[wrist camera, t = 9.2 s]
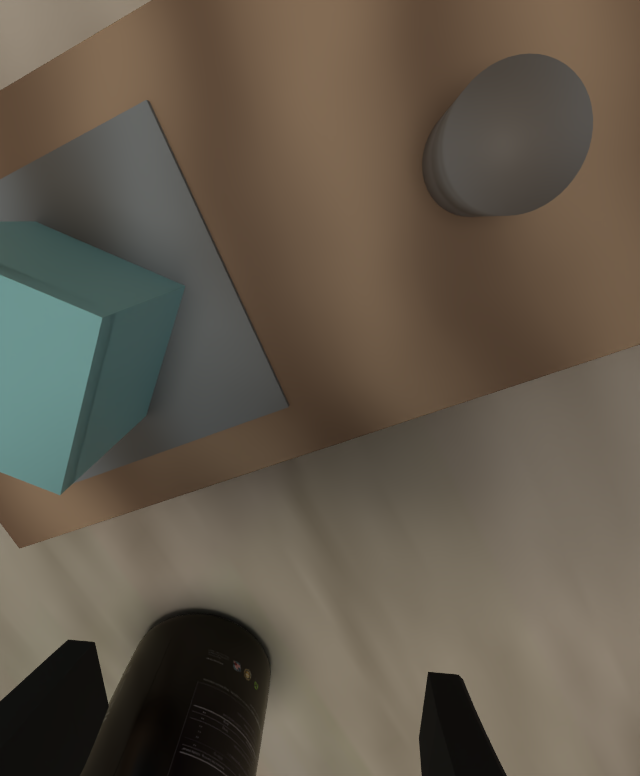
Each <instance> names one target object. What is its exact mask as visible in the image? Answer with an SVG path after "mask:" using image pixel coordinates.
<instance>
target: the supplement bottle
mask: <svg viewBox="0 0 640 776" xmlns="http://www.w3.org/2000/svg"><path fill="white" fill-rule="evenodd" d="M269 686H270V666H269V661H268V658H267V656H266V653H265V651H264V650H263V648H262V646H261V645H260V643H259V642H258V641H257V640H256V638H255V637H254V636H253V635H252V634H251V633H249V632H248V631H247V630H246V629H244V628H243V627H241V626H240V625H238V624H236V623H234V622H232V621H230V620H227V619H225V618H222V617H218V616H214V615H208V614H185V615H180V616H176V617H172V618H170V619H167V620H165V621H163V622H161V623H159V624H158V625H156V626H155V627H153V628H152V629H151V630H150V631H149V632H148V633H147V634H146V635H145V636H144V637H143V638H142V640H141V641H140V643H139V645H138V646H137V648H136V650H135V652H134V654H133V656H132V658H131V660H130V662H129V664H128V665H127V667H126V670H125V672H124V674H123V676H122V678H121V680H120V682H119V684H118V686H117V688H116V690H115V692H114V694H113V696H112V698H111V700H110V702H109V704H108V705H109V708H108V710H107V713H106V715H105V718H104V720H103V723H102V726H101V728H100V731H99V733H98V736H97V738H96V741H95V743H94V745H93V748H92V750H91V753H90V755H89V757H88V760H87V762H86V764H85V766H84V768H83V770H82V772H81V774H80V776H256V772H257V765H258V759H259V753H260V746H261V740H262V733H263V727H264V721H265V714H266V708H267V701H268V693H269Z"/></svg>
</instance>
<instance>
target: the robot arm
mask: <svg viewBox="0 0 640 776" xmlns="http://www.w3.org/2000/svg"><path fill="white" fill-rule="evenodd" d="M108 708H109V705H108V700H107V696H106V691H105V687H104V682H103V678H102V673H101V668H100V664H99V659H98V655H97V650H96V646H95V642H88V641H77V640H67V641H66V642H65V643H64V644H63V645H62V646H61V647H60V648H58V649H57V650H56V651H55V652H54V653H53V654H52V655H51V656H49V657H48V658H47V659H46V660H45V661H44V662H43V663H42V664H41V665H40V666H38V667H37V668H36V669H35V670H34V671H33V672H32V673H31V674H30V675H29V676H28V677H26V678H25V679H24V680H23V681H22V682H21V683H20V684H19V685H18V686H17V687H15V688H14V689H13V690H12V691H11V692H10V693H9V694H8V695H7V696H6V697H4V698H3V699H2V700H1V701H0V776H80V774H81V772H82V770H83V768H84V766H85V764H86V762H87V760H88V757H89V755H90V753H91V750H92V748H93V745H94V743H95V741H96V738H97V736H98V733H99V731H100V728H101V726H102V723H103V720H104V718H105V715H106V713H107V710H108ZM419 744H420V758H421V772H422V776H507V775H506V773H505V771H504V769H503V767H502V765H501V763H500V761H499V759H498V757H497V755H496V753H495V751H494V749H493V747H492V745H491V743H490V740H489V738H488V736H487V734H486V732H485V730H484V728H483V725H482V723H481V721H480V719H479V717H478V714H477V712H476V710H475V708H474V705H473V703H472V701H471V698H470V696H469V693H468V691H467V688H466V686H465V683H464V681H463V679H462V678H461V677H460V676H459V675H456V674H445V673H434V672H428V677H427V684H426V692H425V699H424V706H423V713H422V720H421V727H420V735H419Z"/></svg>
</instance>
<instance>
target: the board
mask: <svg viewBox="0 0 640 776" xmlns="http://www.w3.org/2000/svg"><path fill="white" fill-rule="evenodd" d="M14 221H35V222H38V223H40V224H42V225H45V226H47V227H49V228H52V229H54V230H56V231H59V232H61V233H63V234H66V235H68V236H70V237H73V238H75V239H77V240H79V241H82V242H84V243H86V244H89V245H91V246H93V247H96V248H98V249H100V250H103V251H105V252H107V253H110V254H112V255H114V256H117V257H119V258H121V259H124V260H126V261H128V262H131V263H133V264H135V265H138V266H140V267H142V268H145V269H147V270H149V271H152V272H154V273H156V274H158V275H161V276H163V277H165V278H168V279H170V280H172V281H175V282H177V283H179V284H182V285H184V286H185V289H184V292H183V295H182V299H181V302H180V305H179V309H178V312H177V315H176V319H175V322H174V325H173V329H172V332H171V335H170V338H169V342H168V345H167V348H166V352H165V355H164V358H163V362H162V365H161V368H160V372H159V375H158V378H157V382H156V385H155V388H154V391H153V395H152V398H151V401H150V405H149V408H148V411H147V415H146V416H145V417H144V418H143V419H142V420H141V421H140V422H139V423H138V424H137V425H136V426H135V427H133V428H132V429H131V430H130V431H129V432H128V433H127V434H126V435H125V436H124V437H123V438H122V439H120V440H119V441H118V442H117V443H116V444H115V445H114V446H113V447H112V448H111V449H110V450H109V451H108V452H106V453H105V454H104V455H103V456H102V457H101V458H100V459H99V460H98V461H97V462H96V463H95V464H93V465H92V466H91V467H90V468H89V469H88V470H87V471H86V472H85V473H84V474H83V475H82V476H80V477H79V478H78V479H77V480H76V481H75V482H74V483H73V484H72V485H71V486H70V487H69V488H67V489H66V490H65V491H64V492H63V493H62V494H61V495H58V494H55V493H53V492H50V491H48V490H45V489H42V488H40V487H37V486H35V485H32V484H30V483H27V482H24V481H22V480H19V479H17V478H14V477H12V476H9V475H6V474H4V473H1V472H0V523H1V524H2V526H3V527H4V528H5V530H6V531H7V532H8V534H9V535H10V536H11V538H12V539H13V540H14V542H15V543H16V544H17V546H18V547H19V548H22V547H25V546H28V545H32V544H35V543H38V542H41V541H44V540H47V539H50V538H53V537H56V536H59V535H62V534H65V533H68V532H71V531H74V530H77V529H80V528H83V527H86V526H89V525H92V524H95V523H98V522H101V521H104V520H108V519H111V518H114V517H117V516H120V515H123V514H126V513H129V512H132V511H135V510H138V509H141V508H144V507H147V506H150V505H153V504H156V503H159V502H162V501H165V500H168V499H171V498H174V497H177V496H180V495H184V494H187V493H190V492H193V491H196V490H199V489H202V488H205V487H208V486H211V485H214V484H217V483H220V482H223V481H226V480H229V479H232V478H235V477H238V476H241V475H244V474H247V473H250V472H253V471H256V470H260V469H263V468H266V467H269V466H272V465H275V464H278V463H281V462H284V461H287V460H290V459H293V458H296V457H299V456H302V455H305V454H308V453H311V452H314V451H317V450H320V449H323V448H326V447H329V446H332V445H336V444H339V443H342V442H345V441H348V440H351V439H354V438H357V437H360V436H363V435H366V434H369V433H372V432H375V431H378V430H381V429H384V428H387V427H390V426H393V425H396V424H399V423H402V422H405V421H408V420H412V419H415V418H418V417H421V416H424V415H427V414H430V413H433V412H436V411H439V410H442V409H445V408H448V407H451V406H454V405H457V404H460V403H463V402H466V401H469V400H472V399H475V398H478V397H481V396H484V395H488V394H491V393H494V392H497V391H500V390H503V389H506V388H509V387H512V386H515V385H518V384H521V383H524V382H527V381H530V380H533V379H536V378H539V377H542V376H545V375H548V374H551V373H554V372H557V371H560V370H564V369H567V368H570V367H573V366H576V365H579V364H582V363H585V362H588V361H591V360H594V359H597V358H600V357H603V356H606V355H609V354H612V353H615V352H618V351H621V350H624V349H627V348H630V347H633V346H636V345H640V0H151V1H150V2H148V3H146V4H145V5H143V6H141V7H140V8H138V9H136V10H135V11H133V12H131V13H130V14H128V15H126V16H125V17H123V18H121V19H119V20H118V21H116V22H114V23H113V24H111V25H109V26H108V27H106V28H104V29H103V30H101V31H99V32H98V33H96V34H94V35H93V36H91V37H89V38H88V39H86V40H84V41H83V42H81V43H79V44H78V45H76V46H74V47H72V48H71V49H69V50H67V51H66V52H64V53H62V54H61V55H59V56H57V57H56V58H54V59H52V60H51V61H49V62H47V63H46V64H44V65H42V66H41V67H39V68H37V69H36V70H34V71H32V72H31V73H29V74H27V75H25V76H24V77H22V78H20V79H19V80H17V81H15V82H14V83H12V84H10V85H9V86H7V87H5V88H4V89H2V90H0V222H14Z"/></svg>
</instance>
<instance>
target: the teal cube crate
mask: <svg viewBox="0 0 640 776" xmlns="http://www.w3.org/2000/svg"><path fill="white" fill-rule="evenodd" d="M184 289H185V286H184V285H182V284H179V283H177V282H175V281H172V280H170V279H168V278H165V277H163V276H161V275H158V274H156V273H154V272H152V271H149V270H147V269H145V268H142V267H140V266H138V265H135V264H133V263H131V262H128V261H126V260H124V259H121V258H119V257H117V256H114V255H112V254H110V253H107V252H105V251H103V250H100V249H98V248H96V247H93V246H91V245H89V244H86V243H84V242H82V241H79V240H77V239H75V238H73V237H70V236H68V235H66V234H63V233H61V232H59V231H56V230H54V229H52V228H49V227H47V226H45V225H42V224H40V223H38V222H35V221H14V222H0V472H1V473H4V474H6V475H9V476H12V477H14V478H17V479H19V480H22V481H24V482H27V483H30V484H32V485H35V486H37V487H40V488H42V489H45V490H48V491H50V492H53V493H55V494H58V495H61V494H62V493H63V492H64V491H65V490H66V489H67V488H69V487H70V486H71V485H72V484H73V483H74V482H75V481H76V480H77V479H78V478H79V477H80V476H82V475H83V474H84V473H85V472H86V471H87V470H88V469H89V468H90V467H91V466H92V465H93V464H95V463H96V462H97V461H98V460H99V459H100V458H101V457H102V456H103V455H104V454H105V453H106V452H108V451H109V450H110V449H111V448H112V447H113V446H114V445H115V444H116V443H117V442H118V441H119V440H120V439H122V438H123V437H124V436H125V435H126V434H127V433H128V432H129V431H130V430H131V429H132V428H133V427H135V426H136V425H137V424H138V423H139V422H140V421H141V420H142V419H143V418H144V417H145V416H146V415H147V411H148V408H149V405H150V401H151V398H152V395H153V391H154V388H155V385H156V382H157V378H158V375H159V372H160V368H161V365H162V362H163V358H164V355H165V352H166V348H167V345H168V342H169V338H170V335H171V332H172V329H173V325H174V322H175V319H176V315H177V312H178V309H179V305H180V302H181V299H182V295H183V292H184Z"/></svg>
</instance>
